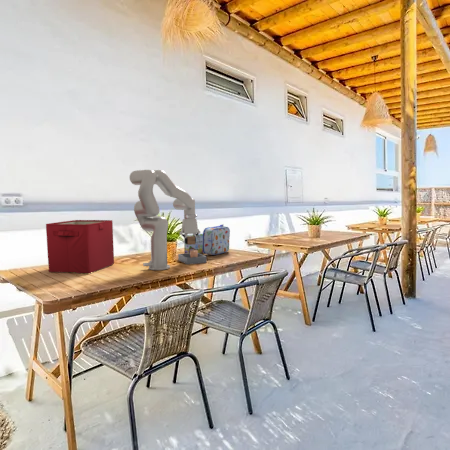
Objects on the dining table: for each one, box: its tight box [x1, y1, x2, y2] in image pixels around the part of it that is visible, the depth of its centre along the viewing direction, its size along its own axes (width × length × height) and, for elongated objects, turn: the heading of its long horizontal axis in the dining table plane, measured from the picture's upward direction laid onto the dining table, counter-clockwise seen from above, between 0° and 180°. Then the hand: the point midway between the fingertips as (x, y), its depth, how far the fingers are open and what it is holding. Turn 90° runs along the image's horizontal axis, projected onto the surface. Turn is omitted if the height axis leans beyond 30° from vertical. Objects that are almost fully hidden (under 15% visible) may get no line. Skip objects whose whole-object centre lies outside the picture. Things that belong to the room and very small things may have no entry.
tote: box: [177, 253, 207, 265], centre depth 224 cm, size 14×18×4 cm
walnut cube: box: [187, 236, 195, 245], centre depth 226 cm, size 5×5×5 cm
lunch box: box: [202, 224, 231, 256], centre depth 253 cm, size 28×10×22 cm, turn 149°
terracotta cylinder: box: [190, 250, 198, 258], centre depth 221 cm, size 5×5×7 cm
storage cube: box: [45, 219, 115, 274], centre depth 203 cm, size 32×28×29 cm
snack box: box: [183, 232, 204, 254], centre depth 257 cm, size 21×6×15 cm, turn 143°
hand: (190, 243), depth 227 cm, fingers closed on walnut cube, 5 cm apart
